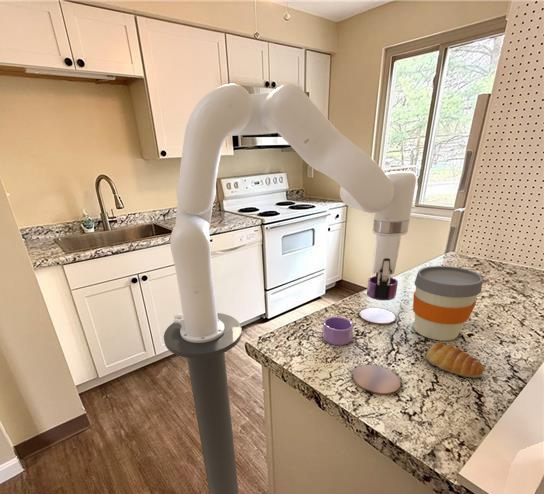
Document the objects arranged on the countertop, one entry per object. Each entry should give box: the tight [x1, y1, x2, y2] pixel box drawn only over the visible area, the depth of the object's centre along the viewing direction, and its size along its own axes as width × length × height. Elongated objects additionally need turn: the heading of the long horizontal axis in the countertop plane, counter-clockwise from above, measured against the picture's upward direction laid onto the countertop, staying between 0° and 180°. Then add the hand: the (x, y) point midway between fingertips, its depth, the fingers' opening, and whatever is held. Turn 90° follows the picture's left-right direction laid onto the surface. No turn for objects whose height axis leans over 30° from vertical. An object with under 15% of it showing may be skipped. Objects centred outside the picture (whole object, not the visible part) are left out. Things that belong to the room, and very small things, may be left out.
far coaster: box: [359, 307, 396, 325], centre depth 86 cm, size 9×9×1 cm
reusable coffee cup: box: [412, 265, 484, 341], centre depth 74 cm, size 13×13×15 cm
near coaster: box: [352, 364, 402, 395], centre depth 64 cm, size 9×9×1 cm
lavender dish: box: [322, 316, 354, 346], centre depth 78 cm, size 7×7×4 cm
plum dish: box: [366, 275, 399, 301], centre depth 83 cm, size 7×7×4 cm
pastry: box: [425, 341, 485, 379], centre depth 64 cm, size 9×7×4 cm
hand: (381, 291), depth 83 cm, fingers closed on plum dish, 6 cm apart
